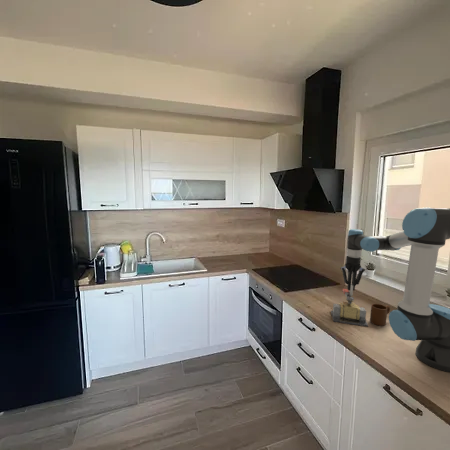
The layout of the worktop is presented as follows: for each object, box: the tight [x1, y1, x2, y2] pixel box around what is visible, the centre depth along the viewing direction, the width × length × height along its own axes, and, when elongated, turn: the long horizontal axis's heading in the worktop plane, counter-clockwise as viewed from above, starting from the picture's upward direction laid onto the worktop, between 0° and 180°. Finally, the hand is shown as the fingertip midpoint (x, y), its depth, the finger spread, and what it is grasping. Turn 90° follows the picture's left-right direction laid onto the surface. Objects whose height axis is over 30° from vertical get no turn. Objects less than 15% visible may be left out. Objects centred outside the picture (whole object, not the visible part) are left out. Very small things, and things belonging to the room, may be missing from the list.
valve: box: [330, 301, 369, 328], centre depth 143 cm, size 12×17×10 cm
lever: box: [342, 288, 355, 303], centre depth 148 cm, size 16×4×2 cm, turn 166°
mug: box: [369, 303, 391, 327], centre depth 140 cm, size 12×8×9 cm, turn 111°
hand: (350, 295), depth 150 cm, fingers closed
